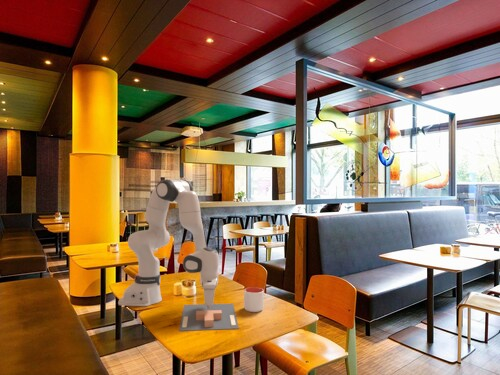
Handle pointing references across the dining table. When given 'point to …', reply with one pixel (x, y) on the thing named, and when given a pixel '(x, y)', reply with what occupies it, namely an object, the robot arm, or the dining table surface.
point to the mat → (192, 324)
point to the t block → (209, 316)
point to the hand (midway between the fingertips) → (208, 308)
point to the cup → (253, 299)
